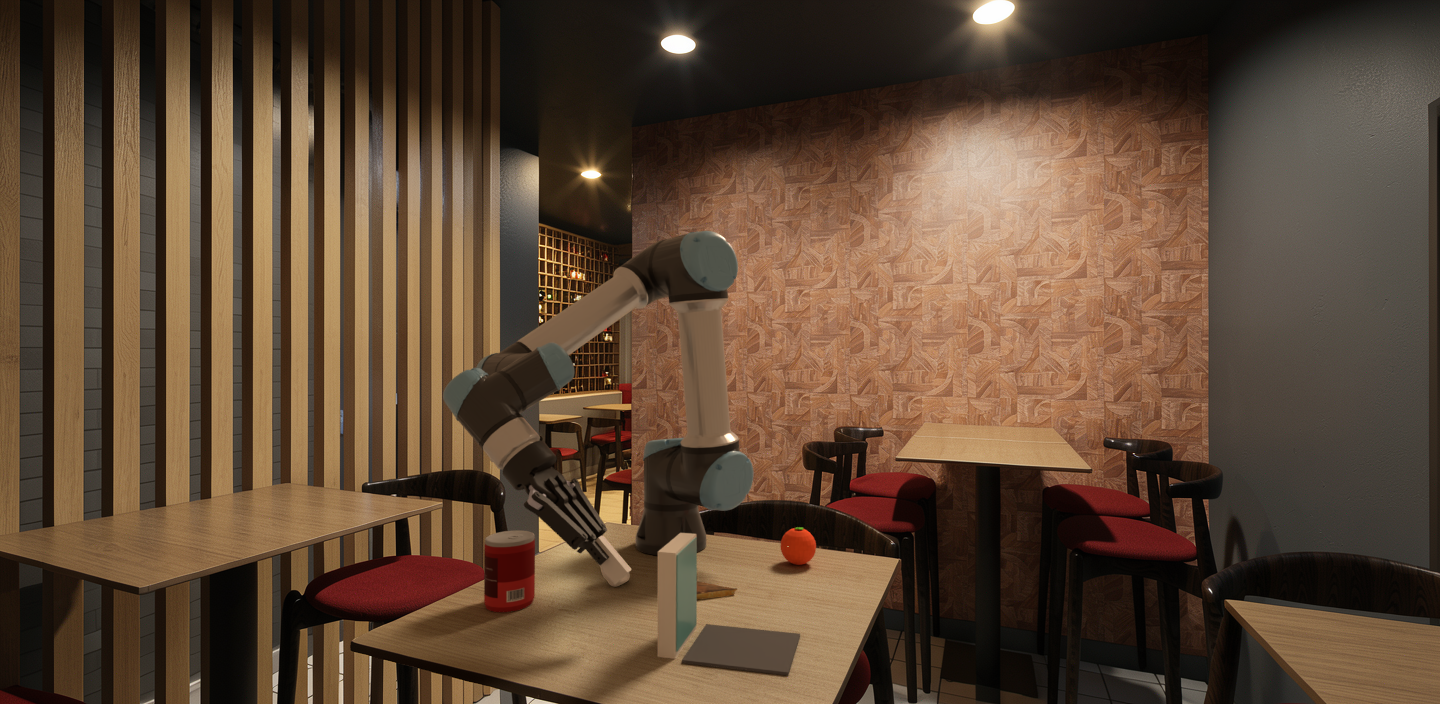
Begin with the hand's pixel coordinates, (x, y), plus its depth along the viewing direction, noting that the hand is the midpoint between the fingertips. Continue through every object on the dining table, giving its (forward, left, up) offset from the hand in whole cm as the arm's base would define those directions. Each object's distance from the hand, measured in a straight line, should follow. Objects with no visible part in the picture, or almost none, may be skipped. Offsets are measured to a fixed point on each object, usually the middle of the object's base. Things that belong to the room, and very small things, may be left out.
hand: (623, 576), depth 93 cm
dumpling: (-20, -10, -9) cm, 24 cm away
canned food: (-7, -23, -9) cm, 26 cm away
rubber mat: (0, +18, -9) cm, 20 cm away
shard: (-20, +5, -9) cm, 23 cm away
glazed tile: (0, +8, -9) cm, 12 cm away
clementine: (-40, +20, -9) cm, 46 cm away
